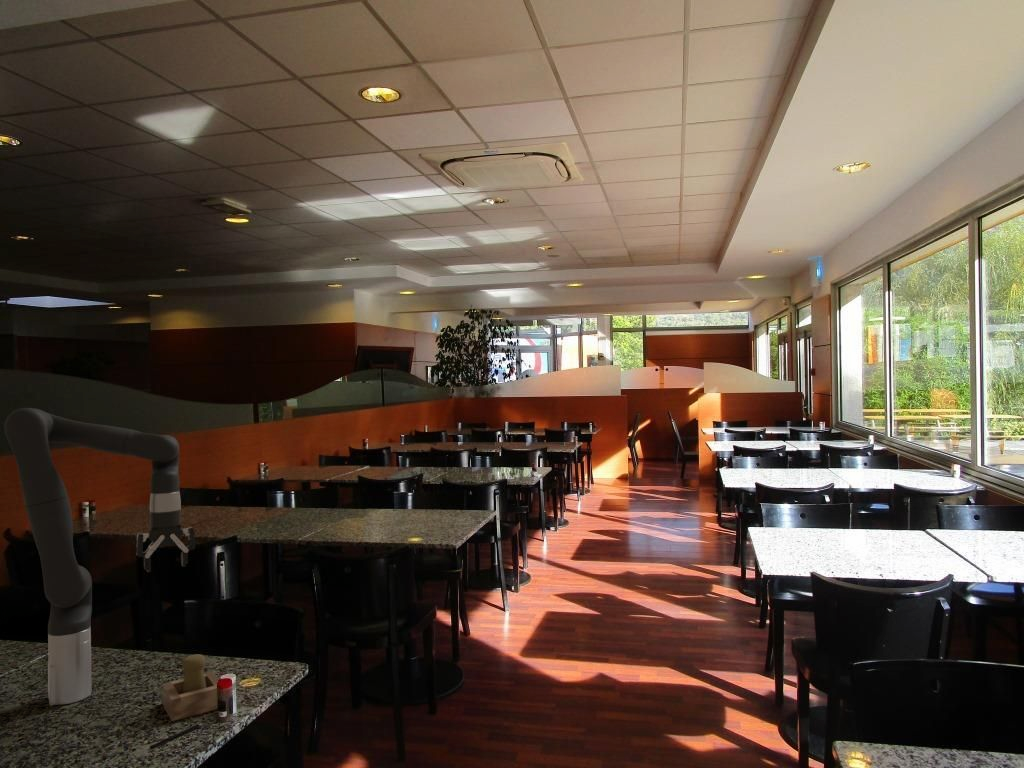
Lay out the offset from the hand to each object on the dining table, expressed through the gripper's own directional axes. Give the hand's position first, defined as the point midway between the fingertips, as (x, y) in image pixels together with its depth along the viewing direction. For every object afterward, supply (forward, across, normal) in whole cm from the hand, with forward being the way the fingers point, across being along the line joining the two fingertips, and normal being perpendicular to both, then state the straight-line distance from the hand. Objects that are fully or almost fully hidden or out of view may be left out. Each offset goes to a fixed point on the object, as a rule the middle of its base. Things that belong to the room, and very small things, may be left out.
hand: (166, 568), depth 187 cm
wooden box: (+30, +2, -21) cm, 37 cm away
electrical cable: (+31, -4, -36) cm, 48 cm away
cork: (+29, +2, -21) cm, 36 cm away
